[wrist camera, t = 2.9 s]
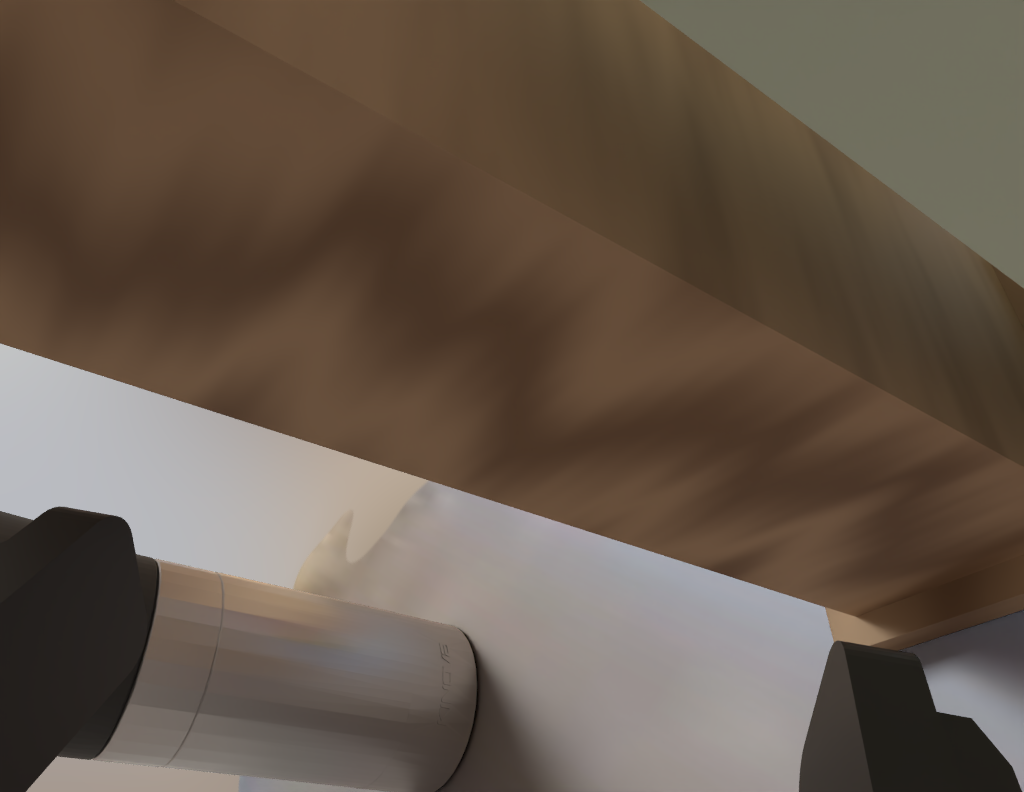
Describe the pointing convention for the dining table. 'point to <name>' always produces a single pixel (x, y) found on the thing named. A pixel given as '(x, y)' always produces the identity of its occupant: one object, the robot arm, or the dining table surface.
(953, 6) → the pale green tall block
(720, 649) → the dining table surface
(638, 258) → the stand
